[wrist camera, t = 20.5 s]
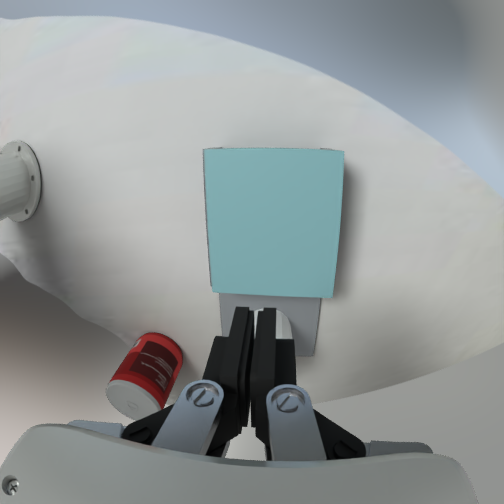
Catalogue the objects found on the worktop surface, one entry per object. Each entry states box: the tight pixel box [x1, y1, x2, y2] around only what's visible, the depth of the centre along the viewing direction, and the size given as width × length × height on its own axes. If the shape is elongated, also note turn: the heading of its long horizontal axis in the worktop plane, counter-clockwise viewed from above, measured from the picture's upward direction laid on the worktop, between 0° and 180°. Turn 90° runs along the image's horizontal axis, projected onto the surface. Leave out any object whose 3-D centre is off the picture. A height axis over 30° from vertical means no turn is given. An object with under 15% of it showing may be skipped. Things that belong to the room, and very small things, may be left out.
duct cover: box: [204, 148, 344, 298], centre depth 27 cm, size 12×14×1 cm
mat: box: [219, 293, 321, 356], centre depth 36 cm, size 12×10×1 cm
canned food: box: [106, 333, 183, 421], centre depth 36 cm, size 8×8×11 cm
